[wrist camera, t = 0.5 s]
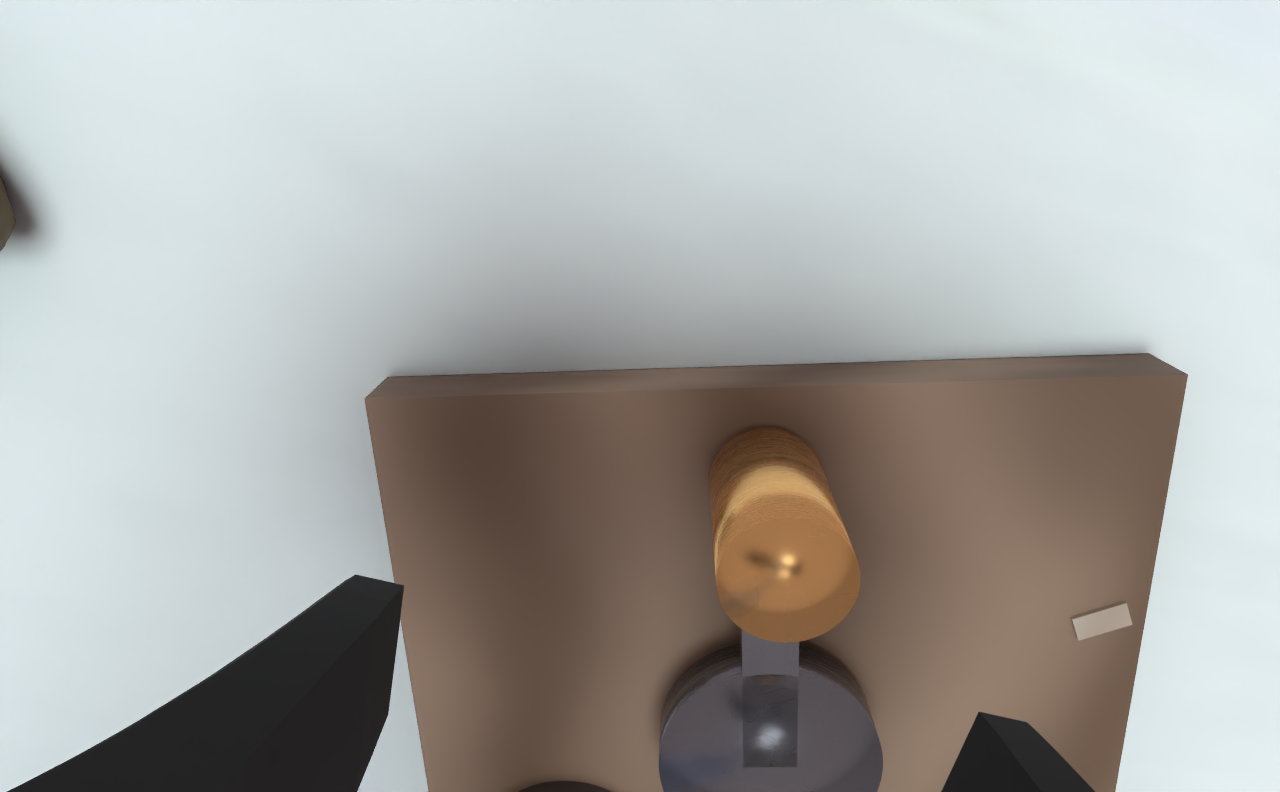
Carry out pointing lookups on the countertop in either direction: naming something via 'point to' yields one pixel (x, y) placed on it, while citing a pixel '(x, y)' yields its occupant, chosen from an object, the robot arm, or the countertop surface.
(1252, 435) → the countertop surface
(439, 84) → the countertop surface
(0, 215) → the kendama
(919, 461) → the base
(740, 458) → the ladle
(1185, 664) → the countertop surface
